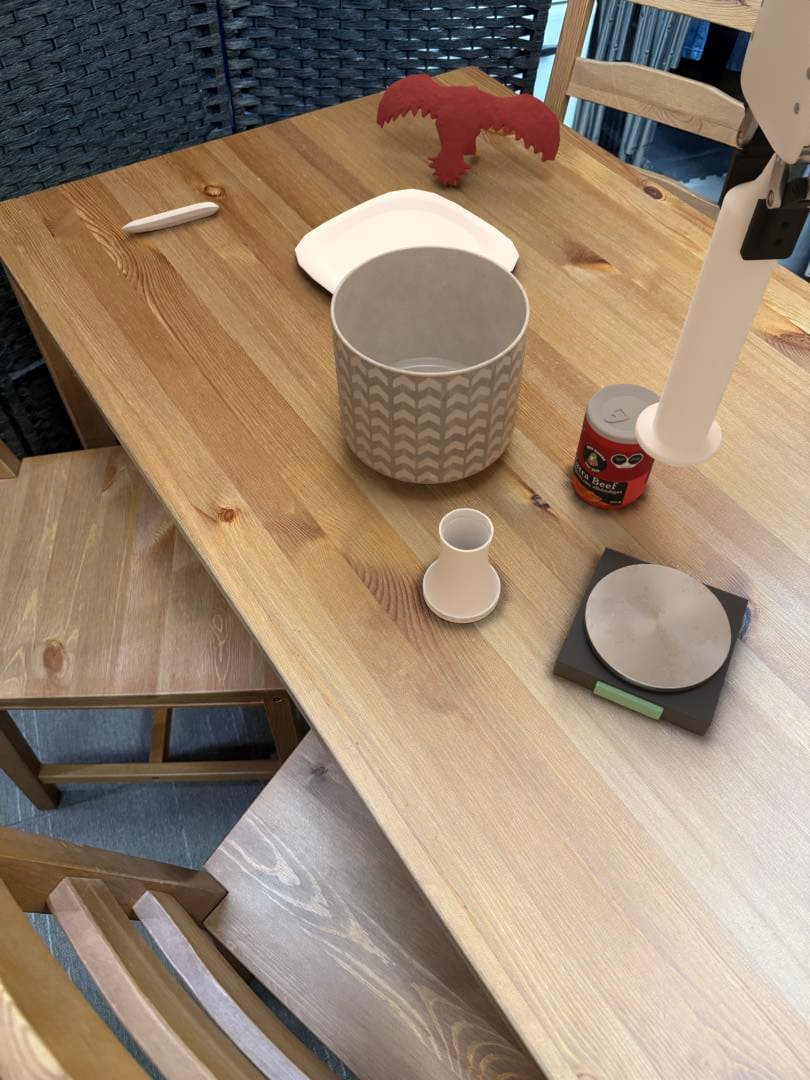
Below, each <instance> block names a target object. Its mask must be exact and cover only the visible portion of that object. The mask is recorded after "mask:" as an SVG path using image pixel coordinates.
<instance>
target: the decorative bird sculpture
mask: <svg viewBox="0 0 810 1080" xmlns="http://www.w3.org/2000/svg"><path fill="white" fill-rule="evenodd" d="M419 110H421V111H420V112H421V117H422V118H423V119H424V118H426V117H427V116H428V115H429V118H430V119H431V120H432V121H433V120H435V121H434V125H435V128H436V131H437V135H438V140H439V143H440V151H439V152H438V154H437V155H435V156H431V157H427V160H428V161H431V162H430V163H429V164H428V165H427V166H428V168H431V169H434V170H435V171H433V173H432V175H433V176H436V177H437V178H436V180H435V182H437V183H443V187H444V188H447V187H448V184H449V185H452V186H454V187H457V186H458V185H457V181H459V182H461V181H462V178H461V176H469V172H468V171H467V170H473V169H474V167H473V166H471V165H469V164H467V163H466V162H465V159H464V158H465V157H466V156H467V157H468V156H473V157H474V158H473V160H475V158H476V157H477V155H478V154H480V152H481V150H480V151H478V149H477V143H476V142H477V138H478V137H479V135H480V134H481V132H482V129H483V130H485V131H486V132H488V131H489V129H490V128H491V127H492V126H493V130H494V132H495V133H498V132H499V131H500V130H501V129H503V135H504V136H507V135H509V134H511V132H514V140H515V141H517V142H518V141H520V140H523V146H524V148H525V149H526V150H530V147H533V154H535V155H537V154H540V153H541V162H542V163H543V162H547V161H551V162H553V161H555V160H556V156H557V155H558V151H559V148H560V145H561V144H560V143H561V132H560V130H561V125H560V120H559V118H558V116H557V114H556V113H555V112H554V111H553V110H552V109H551V108H550V107H549V106H548V105H547V104H546V102H544V101H542V100H541V99H540V98H538V97H535V96H534V95H533V94H529V93H520V94H517V95H513V96H506V97H503V96H497V95H495V94H492V93H489V92H486V91H484V90H482V89H480V88H479V87H478V85H476V84H474V85H448V86H446V85H441V84H440V83H438V82H436V81H435V80H434V79H433V78H432V77H431V76H430V75H429V74H427V73H420V74H410V75H407V76H404V77H403V78H400V79H399V80H397V81H395V82H393V83H392V84H390V85H389V86H388V87H387V88H386V89H385V91H384V92H383V94H382V97H381V99H380V101H379V102H378V107H377V114H376V122H375V123H376V124H377V125H379V126H380V129H384V126H385V123H387V125H389V124H390V122H391V120H392V122H395V121H396V120H397V119H398V118H399V116H400V115H401V117H402V118H405V117H406V116H407V114H408V113H409V112H410V111H411V114H412V117H413V118H415V117H416V116H417V115H418V112H419ZM503 127H504V128H503ZM481 128H482V129H481ZM464 156H465V157H464Z"/></svg>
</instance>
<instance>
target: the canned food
mask: <svg viewBox="0 0 810 1080" xmlns="http://www.w3.org/2000/svg"><path fill="white" fill-rule="evenodd" d="M660 398H661V396H659V395H658V393H656V392H655V391H653V390H652V389H649V388H647V387H645V386H642V385H639V384H634V383H614V384H610V385H606V386H604V387H602V388H600V389H598V390H597V391H595V392H594V394H593V395H591V397H590V399H589V401H588V404H587V405H586V409H585V412H584V416H583V421H582V424H581V425H582V426H581V430H580V435H579V439H578V444H577V449H576V453H575V458H574V462H573V466H572V472H571V480H572V485H573V489H574V490H575V492H576V494H577V495H578V496H579V497H580V499H581V500H583V501H585V502H586V503H588V504H590V505H592V506H594V507H597V508H601V509H613V510H615V509H619V508H624V507H627V506H629V505H631V504H633V503H634V502H636V500H637V499H638V498H639V497H640V496H641V495H642V494H643V493H644V491H645V489H646V486H647V483H648V480H649V477H650V475H651V473H652V469H653V466H654V463H655V461H656V459H654V458H652V457H651V456H649V455H648V454H647V453H646V452H645V451H644V450H643V449H642V448H641V446H640V445H639V443H638V441H637V439H636V435H635V426H636V422H637V419H638V417H639V415H640V414H641V413H642V412H643V410H645V409H646V408H647V407H649V406H651V405H653V404H655V403H658V402H659V401H660Z"/></svg>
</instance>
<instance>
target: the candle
mask: <svg viewBox="0 0 810 1080" xmlns="http://www.w3.org/2000/svg"><path fill="white" fill-rule="evenodd" d="M776 155H777V153H774V155H773V156H772V158H771V159H770V161H769V162H768V164H767V166H766V167H765V169H764V170H763V172H762V174H761V175H760V176H759V177H758V178H757V179H756V180H754V181H751V182H748V183H743V184H740V185H737V186H735V187H734V188H732V189H731V190H730V191H728V193H727V194H726V196H725V198H724V201H723V204H722V207H721V210H720V209H719V210H720V211H719V213H718V216H717V220H716V223H715V226H714V229H713V232H712V236H711V238H710V242H709V246H708V248H707V251H706V254H705V257H704V261H703V263H702V267H701V270H700V272H699V273H700V274H699V276H698V279H697V282H696V286H695V288H694V292H693V294H692V298H691V301H690V304H689V307H688V311H687V314H686V317H685V320H684V322H683V323H684V324H683V326H682V330H681V333H680V336H679V338H678V342H677V346H676V348H675V351H674V355H673V358H672V360H671V364H670V367H669V371H668V373H667V377H666V380H665V383H664V385H663V389H662V392H661V395H660V397H661V398H660V401H659V402H658V403H655V404H653V405H651V406H649V407H647V408H646V409H645V410H643V412H642V413H641V414H640V415H639V417H638V419H637V422H636V426H635V435H636V439H637V441H638V443H639V445H640V446H641V448H642V449H643V450H644V451H645V452H646V453H647V454H648V455H649V456H651V457H652V458H654V459H655V461H658V462H660V463H662V464H664V465H668V466H671V467H676V468H694V467H698V466H701V465H703V464H707V463H708V462H709V461H711V460H712V459H713V458H715V457H716V456H717V454H718V453H719V451H720V448H721V447H722V443H723V431H722V427H721V426H720V424H719V422H718V421H717V419H716V415H717V413H718V411H719V408H720V405H721V403H722V400H723V397H724V396H725V393H726V390H727V389H728V386H729V383H730V380H731V378H732V375H733V373H734V370H735V368H736V366H737V363H738V361H739V357H740V355H741V353H742V350H743V348H744V345H745V343H746V340H747V338H748V336H749V333H750V331H751V328H752V325H753V323H754V320H755V318H756V315H757V313H758V311H759V308H760V305H761V303H762V301H763V299H764V296H765V293H766V290H767V288H768V285H769V283H770V280H771V278H772V275H773V273H774V270H775V268H776V266H777V263H778V260H779V259H775V260H748V261H746V260H743V259H742V257H741V255H740V249H741V246H742V244H743V241H744V238H745V235H746V232H747V230H748V227H749V224H750V221H751V218H752V216H753V213H754V210H755V207H756V204H757V202H758V199H766V195H767V191H768V187H769V183H770V179H771V175H772V171H773V167H774V163H775V159H776Z"/></svg>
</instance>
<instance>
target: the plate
mask: <svg viewBox="0 0 810 1080" xmlns="http://www.w3.org/2000/svg"><path fill="white" fill-rule="evenodd" d="M428 245H433V246H447V247H454V248H460V249H464V250H468V251H471V252H475V253H478V254H480V255H483V256H485V257H487V258H489V259H491V260H493V261H495V262H497V263H499V264H500V265H502V266H503V267H504V268H506V269H507V270H508V271H509V272H511V273H513V271H514V268H515V267H516V265H517V262H518V260H519V258H520V254H519V252H518V250H517V248H516V246H515V245H514V243H513V241H512V240H511V239H510V238H509V237H507V236H506V235H504V233H502V232H501V231H499V229H497V228H496V227H494V226H493V225H492V224H491V223H488V222H486V221H485V220H484V219H482V218H481V217H479V216H477V215H475V214H474V213H473V212H471V211H469V210H467V209H466V208H464V207H463V206H461V205H460V204H457V203H456V202H454V201H451V200H450V199H447V198H446V197H443V196H441V195H439V194H437V193H435V192H431V191H426V190H421V189H417V188H407V189H401V190H400V189H399V190H394V191H388V192H386V193H383V194H381V195H378V196H376V197H373V198H371V199H368V200H366V201H364V202H362V203H359V204H358V205H356V206H354V207H352V208H350V209H348V210H346V211H343V212H342V213H340V214H337V215H336V216H334V217H333V218H331V219H329V220H327V221H325V222H323V223H322V224H320V225H319V226H317V227H315V228H314V229H312V230H311V231H310V232H307V233H305V234H304V236H303V237H302V238H301V240H300V241H299V243H298V244H297V246H295V248H294V252H295V256H296V259H297V263H298V264H297V265H298V266H299V267H300V268H301V269H302V270H303V271H304V272H305V273H306V274H307V275H308V276H309V277H310V278H311V279H312V280H313V281H314V282H316V283H317V284H318V285H319V286H321V288H323V289H324V290H325V291H327V292H328V293H329V294H331V295H332V296H333V294H334V292H335V290H336V288H337V286H338V285H339V283H340V282H341V280H342V279H343V278H344V277H345V276H346V275H347V274H348V273H349V272H350V271H351V270H352V269H354V268H355V267H357V266H358V265H359V264H361V263H363V262H364V261H366V260H368V259H370V258H372V257H374V256H377V255H379V254H382V253H385V252H388V251H391V250H395V249H400V248H405V247H412V246H428Z"/></svg>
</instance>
